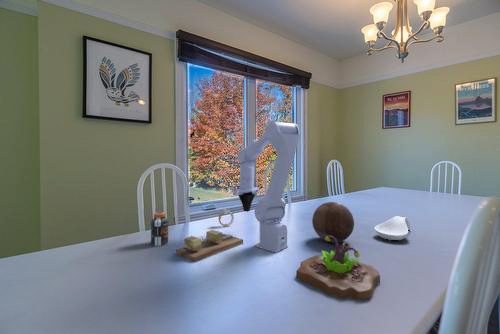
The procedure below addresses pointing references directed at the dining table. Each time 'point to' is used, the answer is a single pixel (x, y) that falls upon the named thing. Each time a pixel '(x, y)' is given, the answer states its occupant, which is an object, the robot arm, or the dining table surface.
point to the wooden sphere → (333, 221)
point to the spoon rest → (393, 228)
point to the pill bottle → (159, 229)
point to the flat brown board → (206, 247)
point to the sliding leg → (214, 236)
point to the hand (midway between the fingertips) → (246, 211)
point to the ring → (224, 213)
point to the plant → (339, 273)
